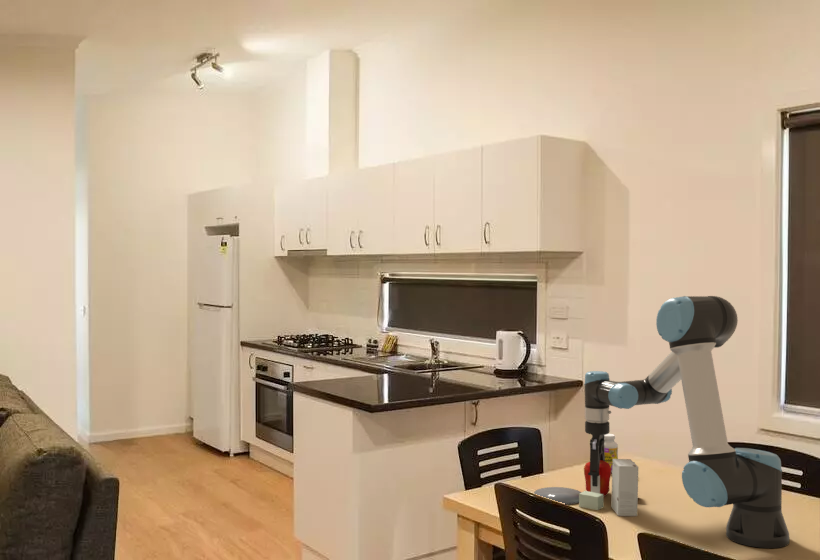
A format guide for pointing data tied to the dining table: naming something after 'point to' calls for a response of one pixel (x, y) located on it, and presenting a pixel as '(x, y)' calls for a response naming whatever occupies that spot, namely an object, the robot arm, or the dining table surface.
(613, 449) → the supplement bottle
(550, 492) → the plate
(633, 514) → the skincare box
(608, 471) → the red bell pepper
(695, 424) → the robot arm
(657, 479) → the dining table surface
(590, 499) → the sage block
